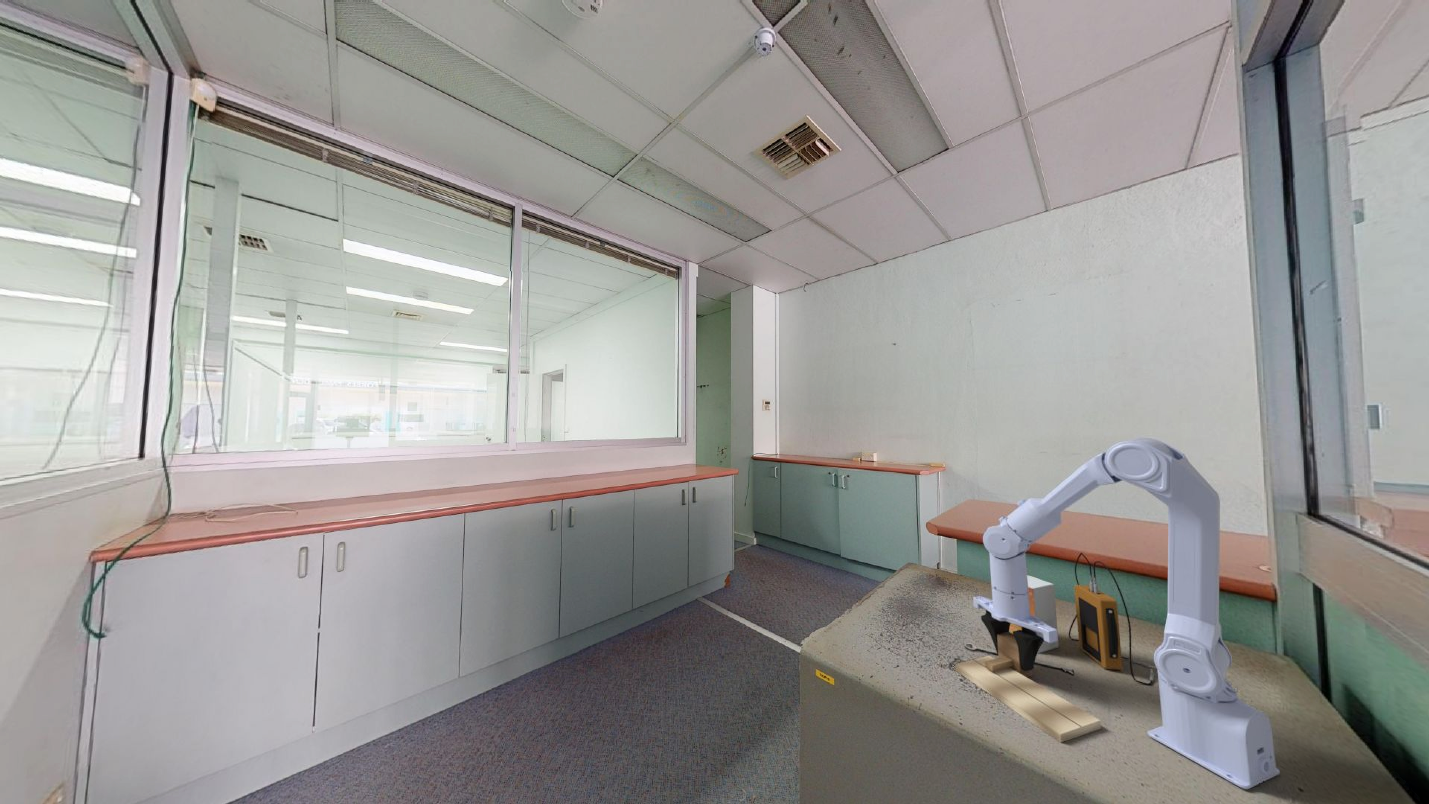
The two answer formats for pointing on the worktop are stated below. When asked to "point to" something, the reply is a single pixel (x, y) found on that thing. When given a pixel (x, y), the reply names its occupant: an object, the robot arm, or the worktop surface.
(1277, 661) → the worktop surface
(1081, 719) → the board
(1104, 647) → the multimeter
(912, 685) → the worktop surface
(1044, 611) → the small box
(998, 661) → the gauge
